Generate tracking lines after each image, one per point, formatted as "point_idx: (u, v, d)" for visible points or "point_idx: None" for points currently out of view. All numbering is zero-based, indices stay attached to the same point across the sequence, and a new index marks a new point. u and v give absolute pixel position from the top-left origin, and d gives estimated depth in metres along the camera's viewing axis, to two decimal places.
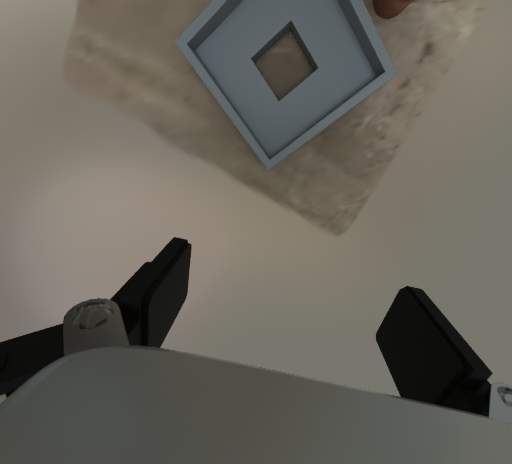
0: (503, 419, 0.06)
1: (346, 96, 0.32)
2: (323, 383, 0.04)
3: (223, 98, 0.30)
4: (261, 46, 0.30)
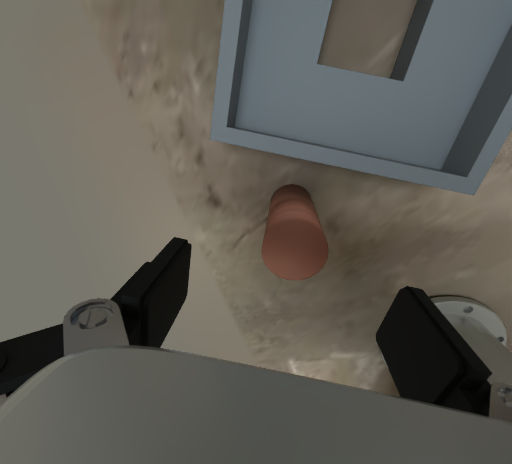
0: (503, 419, 0.06)
1: (246, 68, 0.18)
2: (323, 383, 0.04)
3: None
4: (435, 3, 0.15)
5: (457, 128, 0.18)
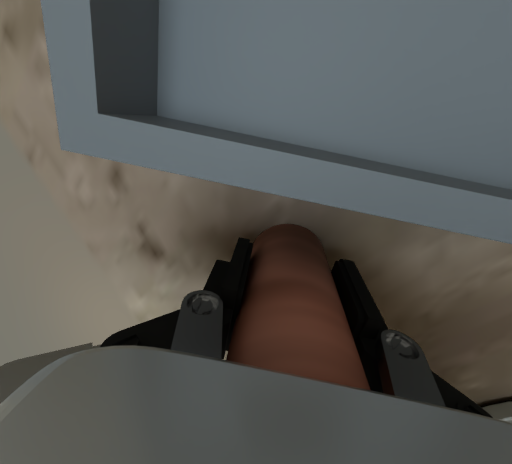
0: (397, 367, 0.07)
1: None
2: (323, 383, 0.04)
3: None
4: None
5: None
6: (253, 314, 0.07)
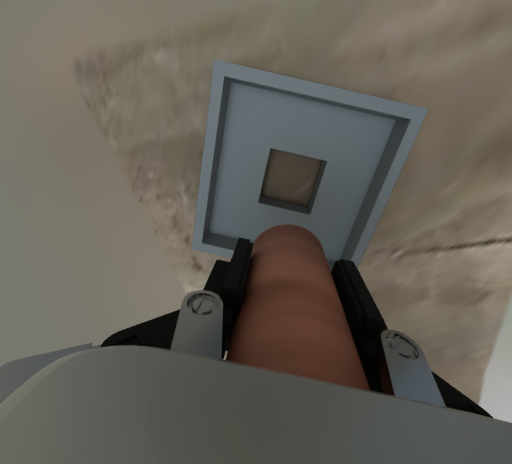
0: (397, 367, 0.07)
1: (215, 202, 0.28)
2: (323, 383, 0.04)
3: (332, 98, 0.21)
4: (323, 178, 0.26)
5: (345, 240, 0.29)
6: (253, 314, 0.07)
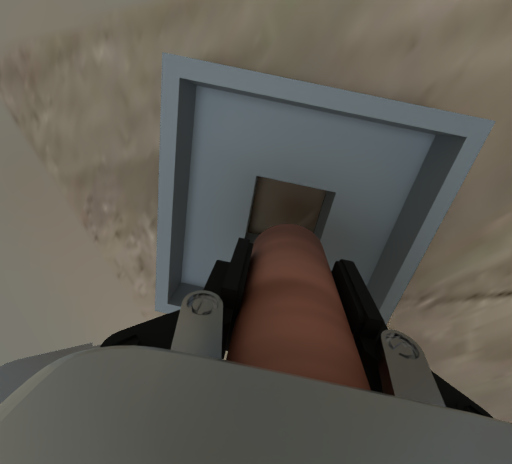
0: (397, 367, 0.07)
1: (186, 246, 0.21)
2: (323, 383, 0.04)
3: (345, 107, 0.14)
4: (330, 215, 0.19)
5: None
6: (253, 314, 0.07)
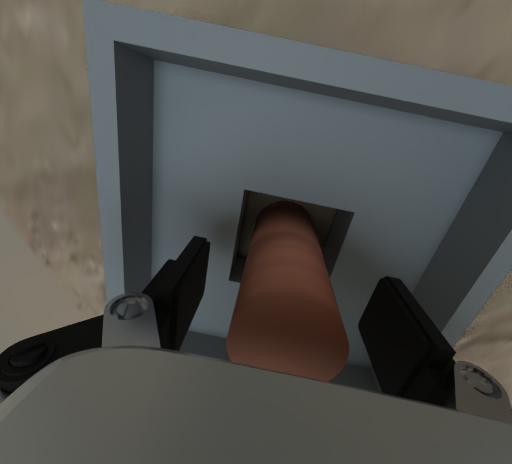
0: (467, 398, 0.06)
1: None
2: (323, 383, 0.04)
3: (381, 88, 0.08)
4: (346, 242, 0.14)
5: None
6: (259, 251, 0.11)
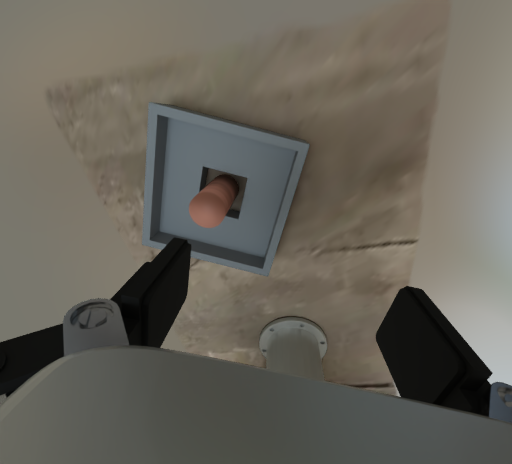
0: (503, 419, 0.06)
1: (162, 207, 0.35)
2: (323, 383, 0.04)
3: (239, 133, 0.27)
4: (245, 191, 0.33)
5: (267, 240, 0.36)
6: None
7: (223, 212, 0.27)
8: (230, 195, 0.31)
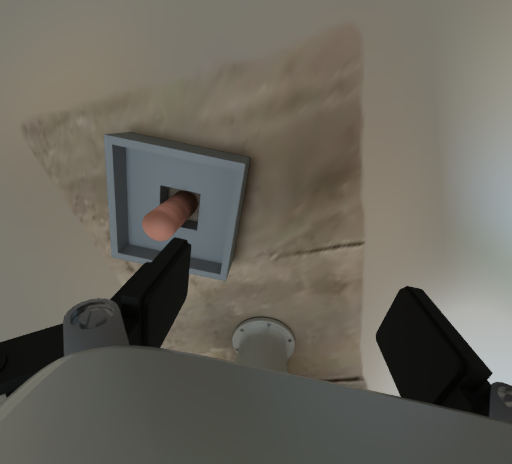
0: (503, 419, 0.06)
1: (129, 222, 0.39)
2: (323, 383, 0.04)
3: (183, 157, 0.31)
4: (200, 205, 0.37)
5: None
6: None
7: (172, 227, 0.31)
8: (183, 210, 0.34)
